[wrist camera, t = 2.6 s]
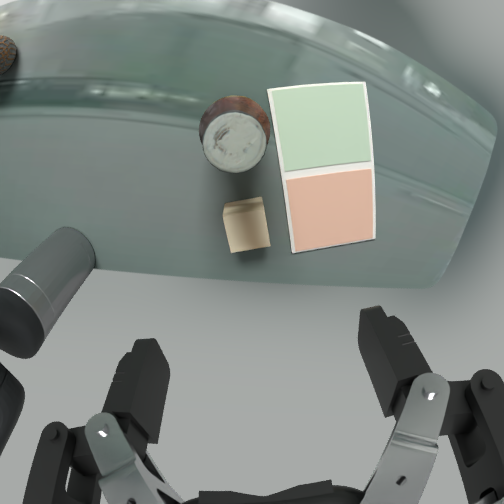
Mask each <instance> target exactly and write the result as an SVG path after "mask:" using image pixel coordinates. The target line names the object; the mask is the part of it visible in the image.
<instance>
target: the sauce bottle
mask: <svg viewBox="0 0 504 504" xmlns="http://www.w3.org/2000/svg"><path fill="white" fill-rule="evenodd" d="M199 136H200V140H201V143H202V145H203V151H204V154H205V156H206V158H207V160H208V161H209V162H210V163H211V164H212V165H213V166H214V167H216V168H217V169H219V170H221V171H224V172H228V173H240V172H246V171H247V170H250V169H251V168H253V167H254V166H256V165H257V164H258V163H259V162H260V160H261V159H262V157H263V156H264V154H265V150H266V145H267V144H268V140H269V137H270V123H269V120H268V117H267V115H266V113H265V112H264V110H263V109H262V108H261V106H260V105H259V104H257V103H256V102H255V101H253V100H251V99H249V98H247V97H243V96H228V97H224V98H221V99H219V100H217V101H216V102H214V103H213V104H212V105H210V106H209V107H208V109H207V110H206V111H205V113H204V114H203V116H202V118H201V121H200V125H199Z"/></svg>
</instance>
